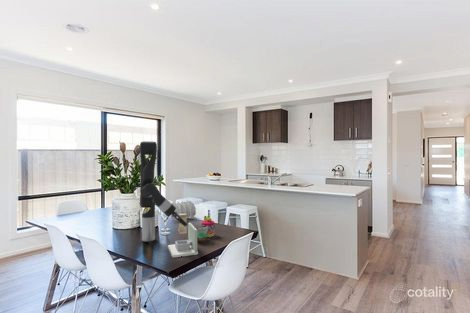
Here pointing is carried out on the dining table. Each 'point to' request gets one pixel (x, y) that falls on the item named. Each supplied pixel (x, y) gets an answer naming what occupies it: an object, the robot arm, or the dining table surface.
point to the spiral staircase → (185, 208)
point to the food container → (202, 234)
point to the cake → (210, 225)
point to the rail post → (181, 227)
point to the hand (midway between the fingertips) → (185, 224)
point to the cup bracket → (185, 244)
